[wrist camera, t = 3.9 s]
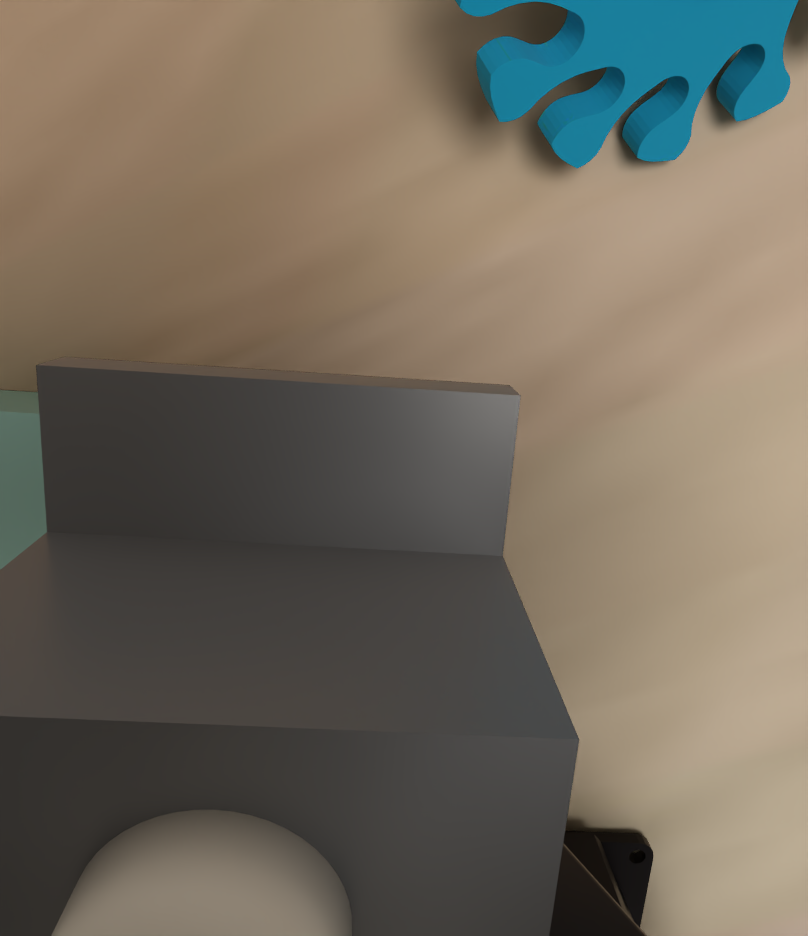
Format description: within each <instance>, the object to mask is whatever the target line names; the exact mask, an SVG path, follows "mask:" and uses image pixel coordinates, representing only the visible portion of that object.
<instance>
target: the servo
mask: <svg viewBox="0 0 808 936" xmlns="http://www.w3.org/2000/svg"><path fill="white" fill-rule="evenodd" d="M36 370H37V386H38V401H39V417H40V432H41V448H42V463H43V479H44V494H45V510H46V525H47V532H46V533H45V534H44V535H43V536H41V537H40V538H39V539H38V540H36V541H35V542H34V543H33V544H31V545H30V546H29V547H28V548H27V549H25V550H24V551H23V552H22V553H20V554H19V555H18V556H17V557H15V558H14V559H13V560H12V561H10V562H9V563H8V564H7V565H5V566H4V567H3V568H2V569H1V570H0V936H549V933H550V927H551V920H552V914H553V907H554V901H555V894H556V887H557V881H558V874H559V868H560V861H561V855H562V848H563V842H564V835H565V828H566V822H567V815H568V809H569V802H570V796H571V789H572V783H573V776H574V769H575V763H576V756H577V750H578V743H579V738H578V736H577V733H576V731H575V729H574V726H573V724H572V721H571V719H570V717H569V714H568V712H567V709H566V707H565V704H564V702H563V700H562V697H561V695H560V692H559V690H558V688H557V685H556V683H555V680H554V678H553V676H552V673H551V671H550V668H549V666H548V664H547V661H546V659H545V656H544V654H543V652H542V649H541V647H540V644H539V642H538V640H537V637H536V635H535V632H534V630H533V628H532V625H531V623H530V620H529V618H528V616H527V613H526V611H525V608H524V606H523V604H522V601H521V599H520V596H519V594H518V592H517V589H516V587H515V584H514V582H513V580H512V577H511V575H510V572H509V570H508V568H507V565H506V563H505V560H504V558H503V548H504V539H505V530H506V521H507V512H508V503H509V494H510V485H511V477H512V468H513V459H514V450H515V441H516V432H517V423H518V414H519V405H520V396H521V395H519V394H518V393H517V392H516V391H515V390H514V389H513V388H512V387H511V386H510V385H499V384H483V383H468V382H452V381H436V380H420V379H405V378H389V377H373V376H358V375H342V374H326V373H311V372H295V371H279V370H263V369H248V368H232V367H216V366H201V365H185V364H169V363H154V362H138V361H122V360H106V359H91V358H75V357H61V358H58V359H55V360H51V361H48V362H45V363H41V364H38V365H36Z"/></svg>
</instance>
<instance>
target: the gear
mask: <svg viewBox="0 0 808 936" xmlns="http://www.w3.org/2000/svg"><path fill="white" fill-rule="evenodd" d="M455 1H456V2H457V4H458V5H459V7H460V8H461V9H462V10H463V11H464V12H466V13H467V14H470V15H473V16H482V17H483V16H487V15H491V14H493V13H495V12H497V11H500V10H502V9H504V8H506V7H509V6H512V5H516V4H519V3H526V2H546V3H551V4H554V5H557V6H561V7H563V8H565V9H567V10H568V12H567V18H566V20H565V23H564V25H563V27H562V28H561V30H560V31H559V32H558V33H557V35H556V36H554V37H553V38H552V39H551V40H549V41H547V42H545V43H542V44H536V45H534V44H529V43H527V42H524V41H522V40H519V39H517V38H514V37H510V36H503V37H499V38H495V39H493V40H491V41H489V42H488V43H486V44H485V45H484V46H482V47H481V48H480V50H479V51H478V52H477V59H476V66H477V75H478V78H479V82H480V86H481V88H482V91H483V93H484V95H485V98H486V100H487V102H488V103H489V105H490V107H491V108H492V110H493V112H494V113H495V115H496V117H497V118H498V120H499V122H508V121H512V120H515V119H517V118H519V117H521V116H523V115H524V114H525V113H526V112H528V111H529V110H530V109H531V108H532V107H533V106H534V105H535V103H536V102H537V101H538V100H539V99H540V98H542V97H543V96H544V95H545V94H546V93H548V92H549V91H550V90H551V89H553V88H554V87H556V86H557V85H559V84H560V83H562V82H564V81H566V80H568V79H570V78H572V77H574V76H576V75H579V74H582V73H585V72H588V71H592V70H596V69H600V68H604V67H607V69H606V72H605V74H604V75H603V77H602V79H601V80H600V81H599V82H598V83H597V84H596V85H595V86H594V87H592V88H590V89H589V90H587V91H584V92H581V93H577V94H573V95H569V96H565V97H562V98H560V99H558V100H556V101H554V102H553V103H552V104H551V105H549V106H548V107H547V108H546V110H545V111H544V112H543V113H542V115H541V116H540V118H539V120H538V123H537V124H538V126H539V128H540V130H541V131H542V133H543V134H544V136H545V138H546V139H547V141H548V142H549V144H550V145H551V147H552V149H553V150H554V152H555V153H556V154H557V155H558V156H559V157H560V158H561V159H562V160H564V161H565V162H566V163H568V164H570V165H572V166H574V167H576V168H579V167H581V166H583V165H585V164H586V163H588V162H589V161H590V160H591V159H592V158H593V157H594V156H595V155H596V154H597V153H598V151H599V150H600V148H601V147H602V144H603V142H604V140H605V138H606V136H607V135H608V133H609V131H610V130H611V128H612V127H613V125H614V124H615V123H616V121H617V120H618V119H619V118H620V116H621V115H622V114H623V113H624V112H625V111H626V110H627V109H628V108H629V107H630V106H631V105H632V104H633V103H634V102H635V101H636V100H638V99H639V98H640V97H641V96H643V95H644V94H645V93H646V92H648V91H649V90H651V89H652V88H653V87H655V86H656V85H657V84H659V83H660V82H662V81H663V80H665V79H667V78H669V79H668V81H667V82H666V84H665V85H664V87H663V88H662V89H661V90H660V91H659V92H658V93H656V94H655V95H654V96H652V97H651V98H650V99H648V100H647V101H646V102H644V103H643V104H642V105H640V106H639V107H638V108H637V109H635V111H634V112H633V113H632V114H631V115H630V116H629V118H628V119H627V121H626V123H625V125H624V128H623V132H622V137H623V139H624V140H625V141H626V143H627V144H628V146H629V147H630V148H631V150H632V151H633V152H634V154H635V155H636V157H637V158H639V159H642V160H644V161H651V162H655V161H668V160H675V159H676V158H677V157H678V156H679V155H680V154H681V153H682V152H683V150H684V149H685V148H686V146H687V144H688V142H689V140H690V137H691V128H692V122H693V118H694V114H695V111H696V109H697V106H698V104H699V101H700V100H701V98H702V96H703V94H704V92H705V90H706V89H707V87H708V86H709V84H710V83H711V81H712V80H713V79H714V77H715V76H716V75H717V73H718V72H719V71H720V69H721V68H722V67H723V65H724V64H725V63H726V61H727V60H728V59H729V58H730V57H731V56H732V55H733V54H734V53H735V52H736V51H737V50H739V49H740V48H742V49H741V50H740V52H739V53H738V55H737V56H736V57H735V59H734V60H733V61H732V62H731V64H730V65H729V66H728V68H727V69H726V70H725V72H724V73H723V75H722V76H721V78H720V80H719V82H718V86H717V92H716V94H717V98H718V100H719V102H720V103H721V104H722V105H723V106H724V107H725V109H726V110H727V111H728V112H729V113H730V114H731V115H732V117H733V118H734V119H735V120H736V121H742V120H746V119H749V118H752V117H754V116H757V115H759V114H761V113H763V112H765V111H767V110H769V109H770V108H772V107H774V106H776V105H777V104H779V103H781V102H782V101H783V100H784V98H785V97H786V95H787V92H788V90H789V87H790V76H789V75H788V73H787V71H786V70H785V66H784V63H783V45H784V39H785V35H786V32H787V29H788V25H789V23H790V20H791V17H792V15H793V12H794V10H795V7H796V5H797V3H798V0H455Z"/></svg>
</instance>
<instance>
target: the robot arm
mask: <svg viewBox="0 0 808 936" xmlns="http://www.w3.org/2000/svg"><path fill="white" fill-rule="evenodd" d="M634 850H640V851H638V852H637V853H633V854H631V852H633V851H634ZM652 861H653V851H652V849H651V847H650V844H649V842H648V841H647V839H646V838H645V837H644V836H642V835H640V834H633V833H606V832H579V831H565V835H564V842H563V848H562V855H561V861H560V868H559V874H558V881H557V887H556V894H555V901H554V907H553V914H552V920H551V927H550V933H549V936H647V935H646V934H645V933H644V932H643V931H642V930H641V929H640V924H641V919H642V913H643V908H644V903H645V898H646V893H647V887H648V882H649V877H650V872H651V866H652Z"/></svg>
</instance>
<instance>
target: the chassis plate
mask: <svg viewBox="0 0 808 936" xmlns="http://www.w3.org/2000/svg"><path fill="white" fill-rule="evenodd" d="M46 532H47V525H46V510H45V494H44V479H43V463H42V448H41V432H40V417H39V401H38V392H26V391H10V390H0V570H1V569H2V568H3V567H4V566H5V565H7V564H8V563H9V562H10V561H12V560H13V559H14V558H15V557H17V556H18V555H19V554H20V553H22V552H23V551H24V550H25V549H27V548H28V547H29V546H30V545H31V544H33V543H34V542H35V541H36V540H38V539H39V538H40V537H41V536H43V535H44V534H45V533H46Z"/></svg>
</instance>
